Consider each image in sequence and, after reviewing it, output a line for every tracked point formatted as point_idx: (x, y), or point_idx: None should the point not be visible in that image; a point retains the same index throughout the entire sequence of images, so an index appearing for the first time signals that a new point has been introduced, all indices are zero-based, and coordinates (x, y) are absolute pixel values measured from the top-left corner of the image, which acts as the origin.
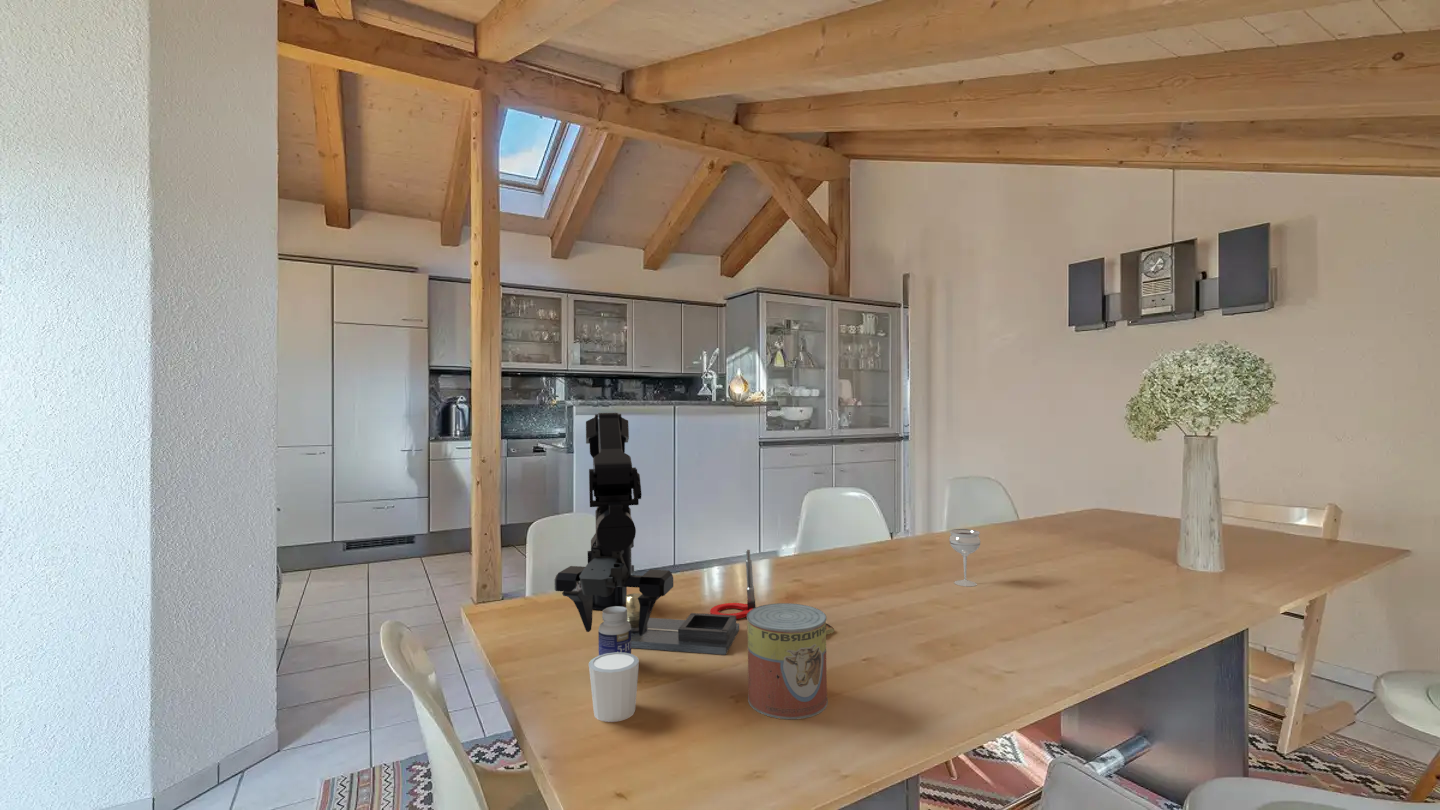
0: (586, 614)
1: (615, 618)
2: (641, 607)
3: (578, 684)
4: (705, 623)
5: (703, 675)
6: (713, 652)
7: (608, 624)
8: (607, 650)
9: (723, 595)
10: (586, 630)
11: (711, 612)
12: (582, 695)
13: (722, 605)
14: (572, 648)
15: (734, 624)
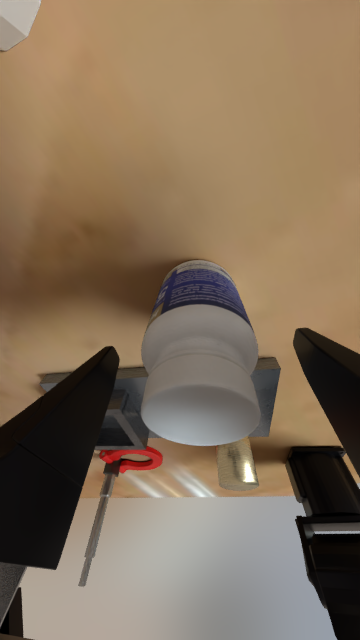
0: (347, 380)
1: (164, 369)
2: (14, 441)
3: (233, 132)
4: (122, 432)
5: (6, 304)
6: (63, 375)
7: (202, 344)
8: (195, 278)
9: (174, 478)
10: (307, 328)
11: (153, 454)
12: (172, 30)
13: (152, 465)
14: (332, 335)
15: None
